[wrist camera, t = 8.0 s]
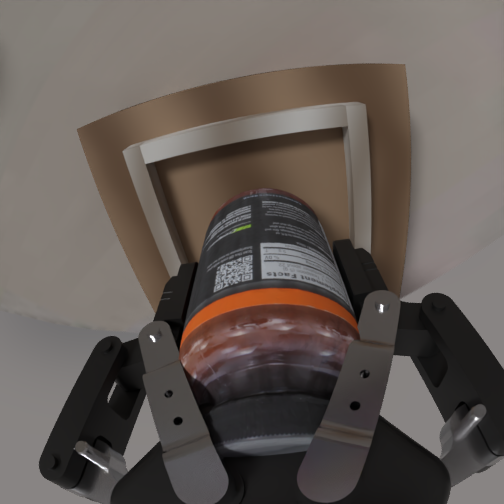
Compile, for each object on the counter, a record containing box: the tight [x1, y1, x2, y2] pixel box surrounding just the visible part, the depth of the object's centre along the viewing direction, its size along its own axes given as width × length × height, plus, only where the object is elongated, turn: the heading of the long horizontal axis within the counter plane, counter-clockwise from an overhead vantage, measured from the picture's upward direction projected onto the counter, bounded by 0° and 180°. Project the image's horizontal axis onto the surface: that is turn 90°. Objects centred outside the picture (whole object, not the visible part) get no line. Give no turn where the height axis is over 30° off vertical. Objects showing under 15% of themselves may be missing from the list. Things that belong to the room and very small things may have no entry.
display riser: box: [77, 64, 411, 313], centre depth 19 cm, size 18×16×7 cm
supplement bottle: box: [178, 188, 360, 457], centre depth 11 cm, size 6×6×11 cm
